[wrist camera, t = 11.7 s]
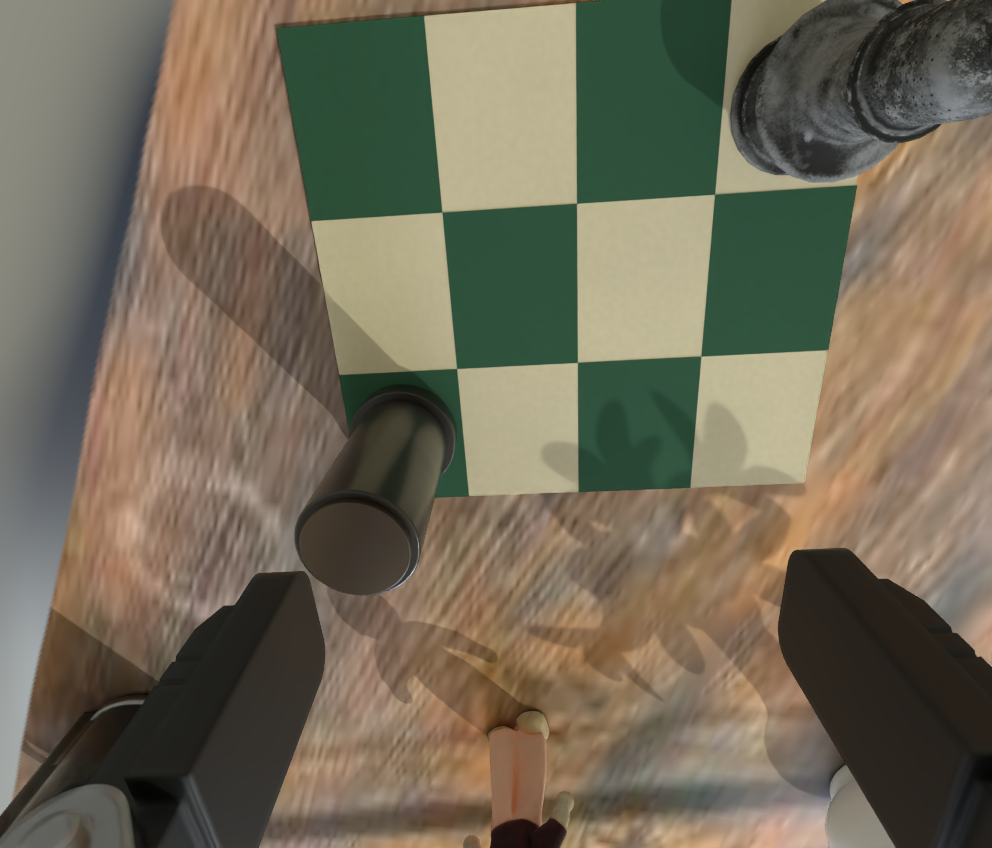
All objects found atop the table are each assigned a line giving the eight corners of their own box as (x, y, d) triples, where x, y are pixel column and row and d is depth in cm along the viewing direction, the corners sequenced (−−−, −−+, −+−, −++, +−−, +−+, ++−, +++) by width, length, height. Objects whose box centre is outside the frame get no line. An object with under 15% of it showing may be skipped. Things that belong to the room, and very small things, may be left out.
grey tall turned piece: (858, -10, 22) (1218, -210, 11) (881, 147, 24) (1200, 117, 13) (706, 61, 23) (889, -54, 12) (741, 205, 25) (923, 224, 14)
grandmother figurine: (531, 691, 37) (539, 926, 25) (573, 719, 38) (599, 960, 26) (456, 748, 39) (430, 988, 28) (497, 774, 40) (489, 1016, 29)
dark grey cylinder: (363, 479, 31) (296, 612, 21) (347, 386, 29) (264, 487, 19) (461, 475, 30) (437, 608, 21) (452, 381, 28) (420, 481, 19)
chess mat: (362, 499, 31) (361, 500, 31) (277, 28, 23) (275, 27, 23) (803, 482, 30) (804, 483, 30) (891, -23, 21) (894, -25, 21)
